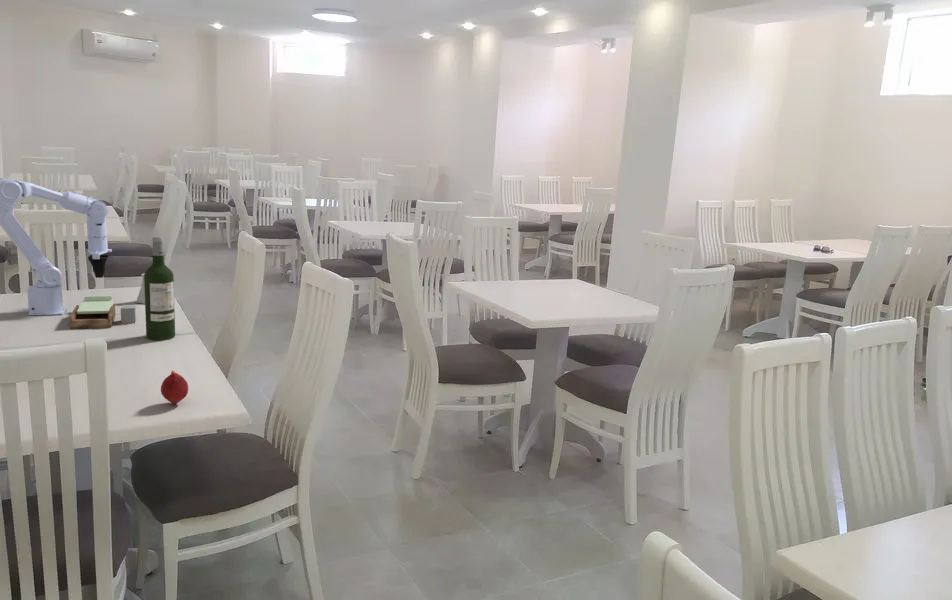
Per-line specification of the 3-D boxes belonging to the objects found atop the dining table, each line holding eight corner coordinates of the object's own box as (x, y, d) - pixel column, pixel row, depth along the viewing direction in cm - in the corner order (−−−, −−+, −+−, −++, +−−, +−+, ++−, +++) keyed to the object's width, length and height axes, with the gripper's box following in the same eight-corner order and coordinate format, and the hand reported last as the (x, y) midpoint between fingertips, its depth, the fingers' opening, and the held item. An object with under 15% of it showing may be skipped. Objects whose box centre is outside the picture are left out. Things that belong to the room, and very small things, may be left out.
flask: (153, 305, 255) (151, 276, 253) (132, 303, 255) (130, 275, 253) (162, 300, 262) (161, 272, 260) (141, 299, 262) (140, 271, 260)
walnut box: (70, 328, 221) (69, 316, 220) (77, 316, 235) (76, 304, 234) (110, 327, 225) (110, 315, 224) (115, 315, 238) (115, 304, 238)
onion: (193, 400, 171) (192, 367, 170) (181, 409, 166) (180, 375, 164) (168, 398, 172) (167, 365, 170) (156, 407, 166) (155, 373, 164)
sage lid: (76, 314, 227) (76, 306, 226) (83, 302, 241) (82, 296, 240) (109, 313, 230) (108, 306, 230) (113, 302, 244) (113, 295, 243)
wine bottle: (157, 342, 213) (153, 239, 207) (140, 336, 217) (136, 236, 211) (180, 336, 220) (178, 237, 213) (164, 331, 224) (161, 233, 217)
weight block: (121, 324, 230) (120, 308, 229) (122, 320, 234) (121, 305, 233) (135, 323, 231) (134, 308, 230) (136, 320, 235) (135, 304, 234)
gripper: (108, 239, 237) (111, 281, 240) (112, 233, 250) (115, 272, 253) (84, 239, 235) (86, 281, 238) (89, 233, 248) (92, 272, 251)
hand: (99, 276), depth 245 cm, fingers closed
